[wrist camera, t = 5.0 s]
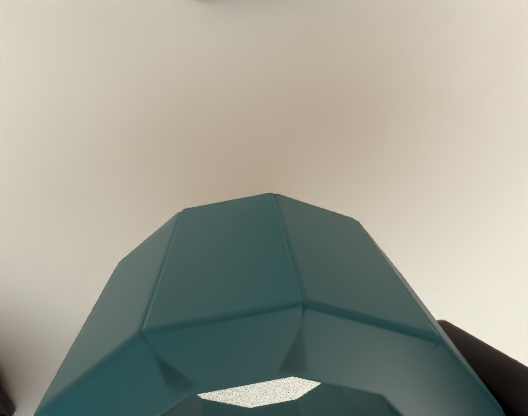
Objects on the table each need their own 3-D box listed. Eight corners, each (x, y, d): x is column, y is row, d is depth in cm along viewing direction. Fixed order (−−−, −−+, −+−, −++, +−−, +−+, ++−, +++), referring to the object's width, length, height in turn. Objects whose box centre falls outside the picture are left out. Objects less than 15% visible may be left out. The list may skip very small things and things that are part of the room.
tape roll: (155, 454, 10) (116, 648, 7) (56, 231, 7) (-87, 374, 4) (404, 407, 10) (485, 578, 7) (398, 167, 7) (528, 260, 4)
